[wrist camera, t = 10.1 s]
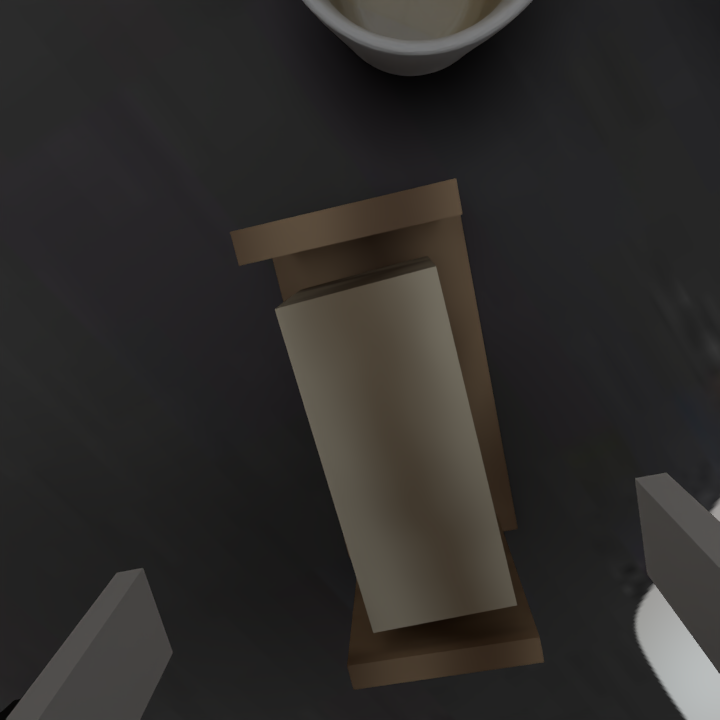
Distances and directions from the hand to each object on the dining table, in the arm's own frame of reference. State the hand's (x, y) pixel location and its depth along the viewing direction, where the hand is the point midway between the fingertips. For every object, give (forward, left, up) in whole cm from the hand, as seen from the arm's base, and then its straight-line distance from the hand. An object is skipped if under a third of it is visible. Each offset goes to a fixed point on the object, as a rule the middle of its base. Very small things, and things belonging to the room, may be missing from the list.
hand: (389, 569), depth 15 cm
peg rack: (0, 0, -18) cm, 18 cm away
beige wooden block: (0, 0, -13) cm, 13 cm away
